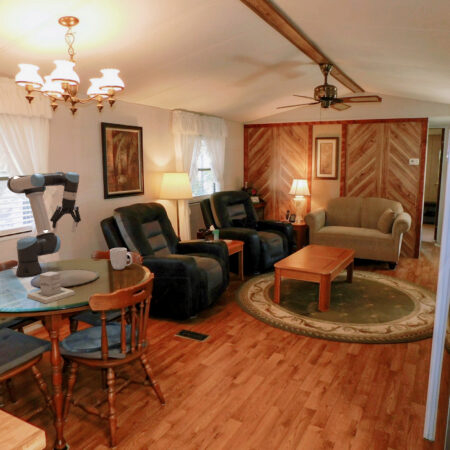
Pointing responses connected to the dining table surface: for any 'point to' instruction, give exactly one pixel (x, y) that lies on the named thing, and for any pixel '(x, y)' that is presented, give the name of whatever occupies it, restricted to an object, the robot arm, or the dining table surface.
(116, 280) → the dining table surface
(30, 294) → the hole board
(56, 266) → the dining table surface
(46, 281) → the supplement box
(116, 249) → the mug
